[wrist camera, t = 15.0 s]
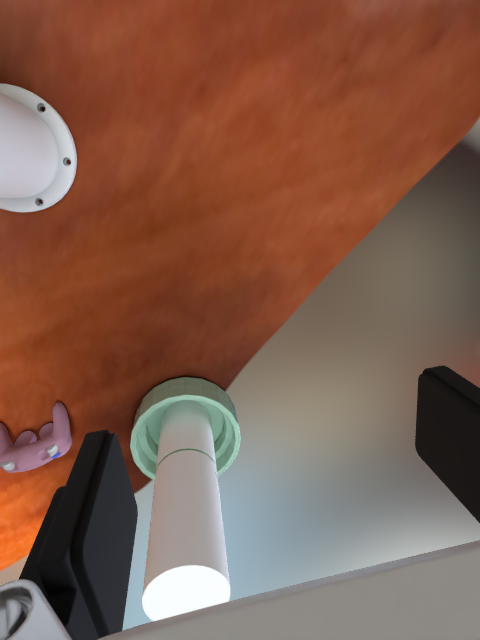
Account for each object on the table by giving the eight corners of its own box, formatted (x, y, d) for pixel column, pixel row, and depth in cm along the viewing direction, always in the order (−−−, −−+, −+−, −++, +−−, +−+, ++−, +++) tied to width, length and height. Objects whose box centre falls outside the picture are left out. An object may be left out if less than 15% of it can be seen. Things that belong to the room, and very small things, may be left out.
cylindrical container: (168, 447, 55) (156, 637, 31) (155, 407, 52) (130, 580, 29) (215, 435, 55) (238, 613, 32) (204, 394, 53) (220, 555, 29)
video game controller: (12, 436, 53) (3, 484, 48) (-10, 421, 50) (-22, 472, 45) (78, 413, 53) (76, 459, 48) (61, 397, 50) (57, 445, 45)
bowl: (131, 457, 55) (125, 484, 50) (141, 370, 51) (136, 390, 46) (226, 462, 58) (230, 489, 53) (243, 380, 53) (249, 400, 48)
